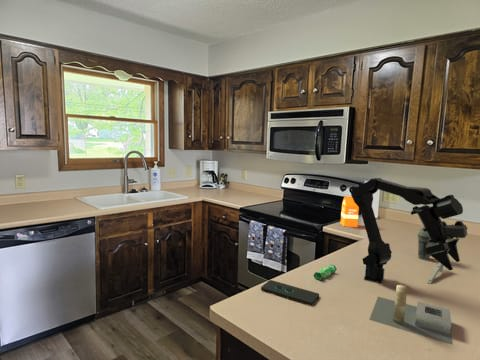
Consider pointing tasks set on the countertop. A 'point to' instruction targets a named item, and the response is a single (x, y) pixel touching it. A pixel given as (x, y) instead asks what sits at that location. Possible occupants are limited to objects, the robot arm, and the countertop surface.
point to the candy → (325, 272)
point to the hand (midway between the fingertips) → (454, 265)
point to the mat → (385, 315)
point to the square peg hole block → (433, 318)
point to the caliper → (438, 268)
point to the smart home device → (290, 292)
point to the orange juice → (349, 212)
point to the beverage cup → (423, 244)
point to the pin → (400, 304)
